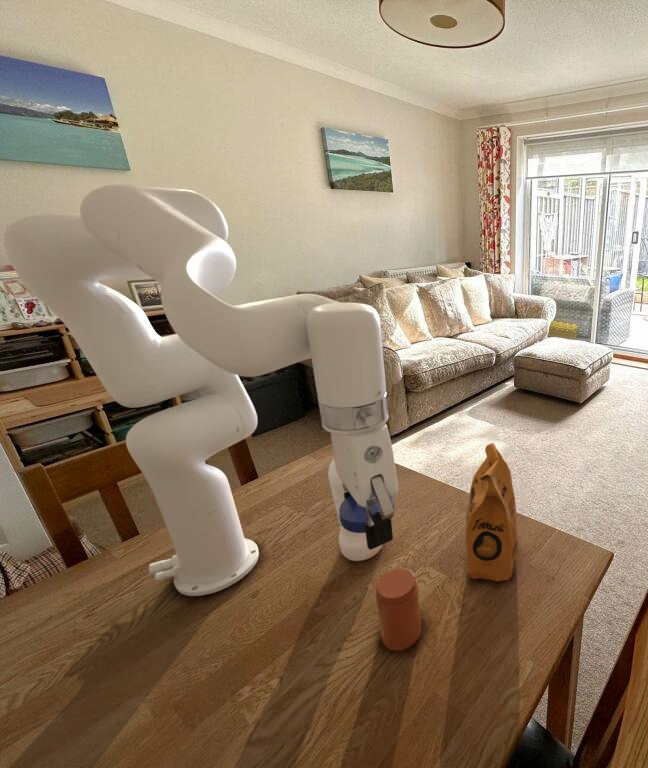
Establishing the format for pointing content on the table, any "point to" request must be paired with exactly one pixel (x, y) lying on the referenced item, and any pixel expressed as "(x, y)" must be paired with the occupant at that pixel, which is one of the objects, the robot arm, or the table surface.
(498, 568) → the coffee package
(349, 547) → the bottle
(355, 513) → the lid
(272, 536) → the table surface
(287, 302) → the robot arm
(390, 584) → the jar
